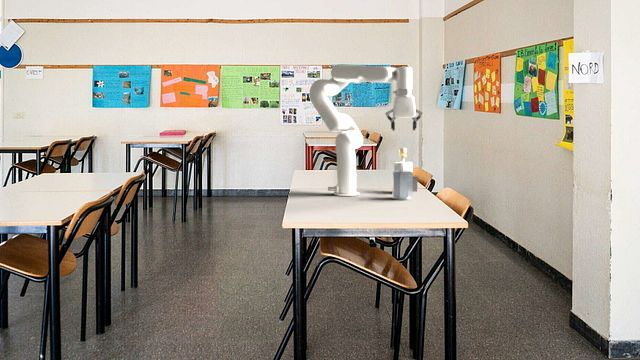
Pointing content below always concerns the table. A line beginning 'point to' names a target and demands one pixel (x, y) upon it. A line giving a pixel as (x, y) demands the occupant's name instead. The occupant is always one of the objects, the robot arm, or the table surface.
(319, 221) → the table surface
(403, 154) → the plunger
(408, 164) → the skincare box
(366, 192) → the table surface
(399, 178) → the pale grey carton
